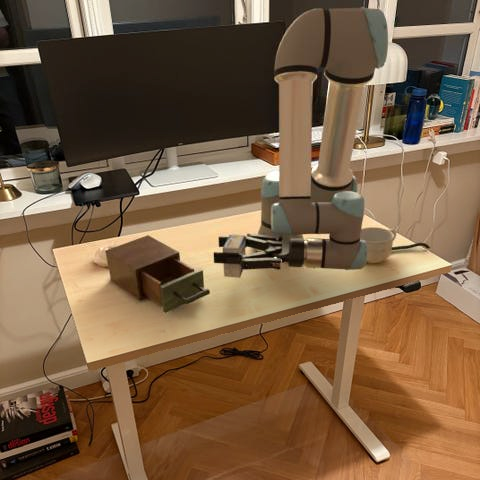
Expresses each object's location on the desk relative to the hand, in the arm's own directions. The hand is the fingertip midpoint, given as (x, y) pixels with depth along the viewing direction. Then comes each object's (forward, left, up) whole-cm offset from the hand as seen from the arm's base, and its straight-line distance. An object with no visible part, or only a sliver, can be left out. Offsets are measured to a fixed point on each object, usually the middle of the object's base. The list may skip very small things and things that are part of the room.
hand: (216, 249), depth 127 cm
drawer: (+10, +9, -10) cm, 16 cm away
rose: (+34, -12, -11) cm, 38 cm away
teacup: (-45, -20, -11) cm, 50 cm away
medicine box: (-5, 0, -6) cm, 8 cm away
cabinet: (+20, -1, -11) cm, 23 cm away
